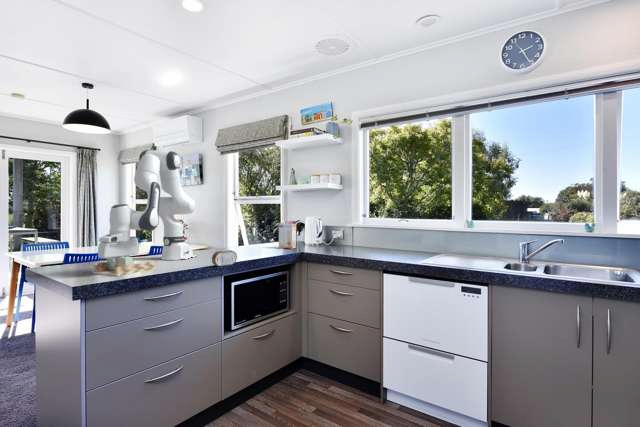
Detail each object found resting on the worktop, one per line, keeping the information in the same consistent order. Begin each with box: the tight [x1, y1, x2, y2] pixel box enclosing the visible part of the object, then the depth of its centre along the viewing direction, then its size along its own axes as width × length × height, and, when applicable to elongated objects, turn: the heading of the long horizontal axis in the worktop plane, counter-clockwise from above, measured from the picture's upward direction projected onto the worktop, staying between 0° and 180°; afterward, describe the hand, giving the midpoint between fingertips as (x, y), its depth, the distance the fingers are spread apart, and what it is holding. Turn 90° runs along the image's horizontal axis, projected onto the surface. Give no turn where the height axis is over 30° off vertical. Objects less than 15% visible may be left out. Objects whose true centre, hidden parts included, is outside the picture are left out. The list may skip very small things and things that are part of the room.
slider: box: [106, 256, 134, 270], centre depth 167 cm, size 4×12×6 cm, turn 71°
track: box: [92, 259, 156, 277], centre depth 170 cm, size 22×16×5 cm
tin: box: [211, 249, 238, 267], centre depth 191 cm, size 15×3×8 cm, turn 141°
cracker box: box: [278, 222, 297, 249], centre depth 281 cm, size 14×6×21 cm, turn 58°
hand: (119, 265), depth 167 cm, fingers closed on slider, 4 cm apart
